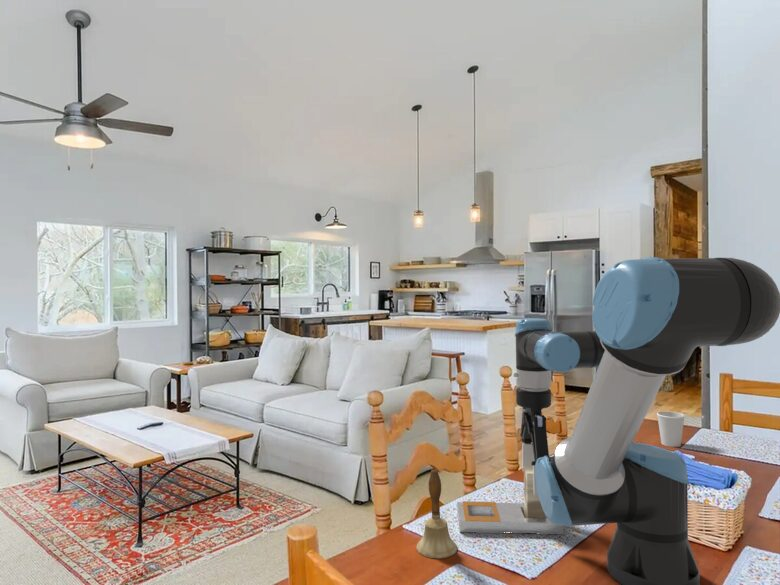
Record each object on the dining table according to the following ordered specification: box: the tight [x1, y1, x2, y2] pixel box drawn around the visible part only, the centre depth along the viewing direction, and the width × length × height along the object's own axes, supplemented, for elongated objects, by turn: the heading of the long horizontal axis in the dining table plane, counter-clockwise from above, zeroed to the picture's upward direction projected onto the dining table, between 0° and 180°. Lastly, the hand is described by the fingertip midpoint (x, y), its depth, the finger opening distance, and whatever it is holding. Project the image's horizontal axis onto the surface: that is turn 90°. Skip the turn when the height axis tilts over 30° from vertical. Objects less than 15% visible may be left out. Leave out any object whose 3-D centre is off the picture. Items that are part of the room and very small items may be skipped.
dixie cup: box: [656, 410, 686, 448], centre depth 173 cm, size 8×8×10 cm
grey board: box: [456, 500, 565, 535], centre depth 117 cm, size 10×22×3 cm, turn 86°
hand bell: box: [415, 468, 458, 559], centre depth 106 cm, size 8×8×16 cm
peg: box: [523, 467, 546, 518], centre depth 117 cm, size 4×4×12 cm
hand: (534, 482), depth 117 cm, fingers open, 13 cm apart
